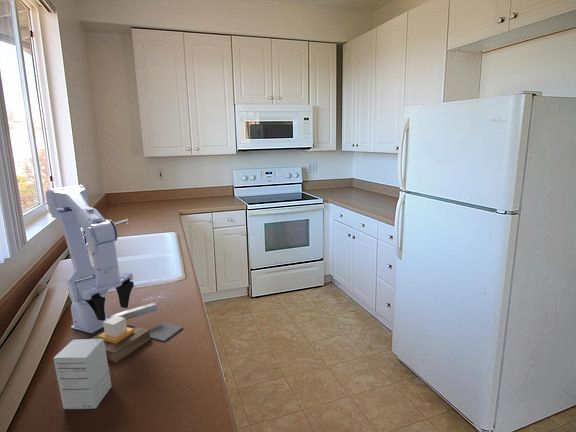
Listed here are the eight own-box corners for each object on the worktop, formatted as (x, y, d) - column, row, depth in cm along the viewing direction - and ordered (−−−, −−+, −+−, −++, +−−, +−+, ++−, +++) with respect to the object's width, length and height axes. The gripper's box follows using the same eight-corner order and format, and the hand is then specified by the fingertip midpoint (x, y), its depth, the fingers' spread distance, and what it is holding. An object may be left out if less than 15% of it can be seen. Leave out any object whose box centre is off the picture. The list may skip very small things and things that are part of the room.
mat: (143, 336, 107) (143, 335, 107) (162, 323, 114) (162, 322, 114) (164, 342, 104) (164, 340, 104) (183, 328, 111) (182, 326, 111)
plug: (100, 350, 101) (96, 323, 99) (119, 338, 107) (115, 313, 105) (117, 354, 99) (113, 327, 97) (135, 342, 104) (132, 316, 103)
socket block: (84, 353, 100) (82, 343, 99) (120, 331, 110) (118, 322, 110) (116, 362, 95) (114, 352, 94) (150, 339, 106) (149, 329, 105)
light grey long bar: (111, 329, 106) (109, 318, 105) (109, 326, 107) (107, 315, 106) (157, 314, 113) (156, 304, 113) (155, 312, 115) (154, 302, 114)
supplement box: (81, 387, 86) (73, 338, 83) (112, 386, 86) (105, 337, 83) (61, 410, 79) (51, 357, 76) (95, 409, 78) (86, 357, 76)
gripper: (92, 277, 90) (101, 328, 92) (138, 259, 102) (144, 304, 105) (73, 274, 92) (81, 323, 95) (120, 256, 105) (126, 300, 108)
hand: (113, 313), depth 100 cm, fingers open, 7 cm apart
